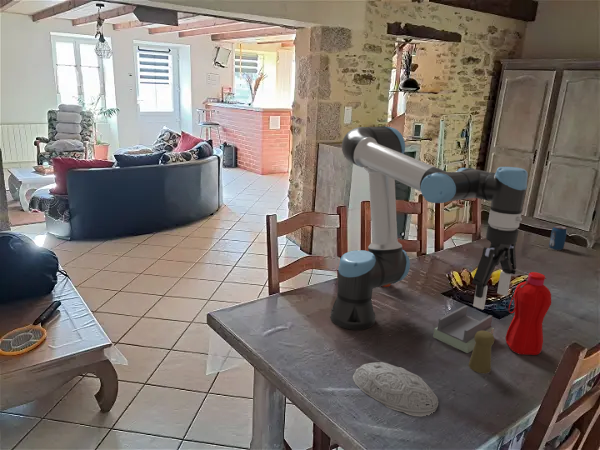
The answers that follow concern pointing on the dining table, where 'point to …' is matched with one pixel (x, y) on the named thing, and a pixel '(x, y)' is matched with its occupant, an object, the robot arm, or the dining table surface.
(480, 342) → the olive pepper shaker
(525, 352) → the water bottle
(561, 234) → the soda can
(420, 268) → the dining table surface
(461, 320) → the grey tray
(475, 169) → the robot arm
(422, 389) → the embossed oval dome
